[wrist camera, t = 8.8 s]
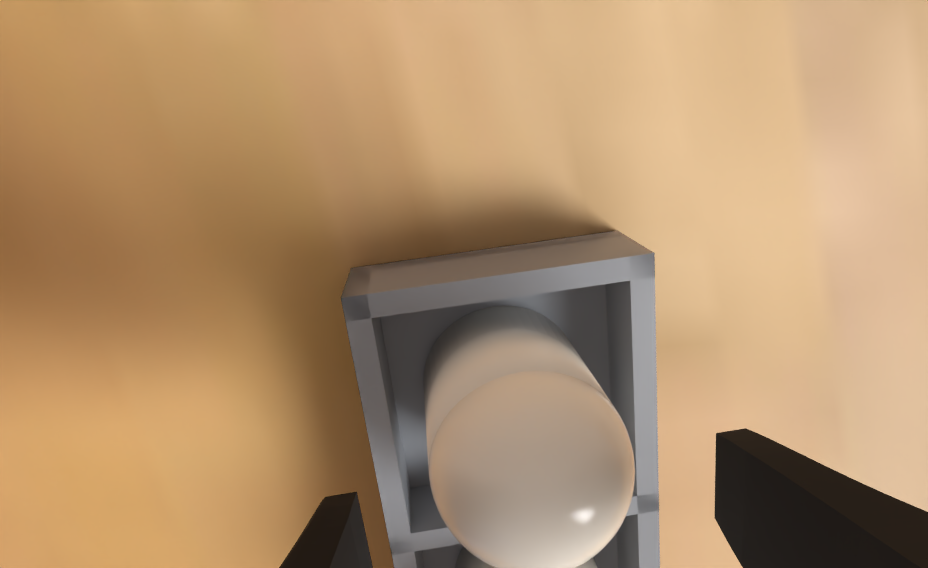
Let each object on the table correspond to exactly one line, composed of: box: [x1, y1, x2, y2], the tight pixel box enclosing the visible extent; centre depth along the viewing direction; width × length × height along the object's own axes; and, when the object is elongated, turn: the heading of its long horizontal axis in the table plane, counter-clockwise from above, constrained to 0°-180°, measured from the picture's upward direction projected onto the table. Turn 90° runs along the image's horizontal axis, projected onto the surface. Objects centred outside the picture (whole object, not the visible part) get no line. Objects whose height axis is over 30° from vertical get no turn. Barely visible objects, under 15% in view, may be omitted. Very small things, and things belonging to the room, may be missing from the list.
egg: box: [423, 306, 635, 568], centre depth 13 cm, size 4×4×6 cm
